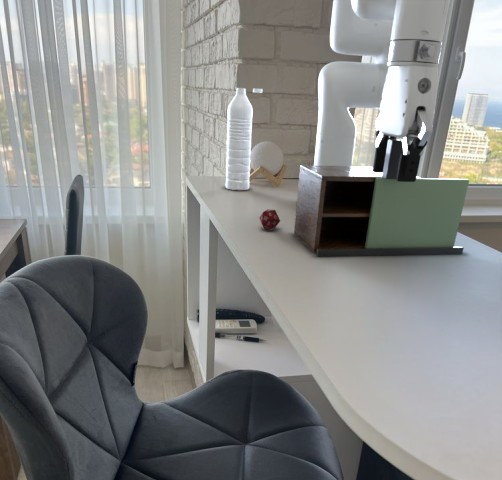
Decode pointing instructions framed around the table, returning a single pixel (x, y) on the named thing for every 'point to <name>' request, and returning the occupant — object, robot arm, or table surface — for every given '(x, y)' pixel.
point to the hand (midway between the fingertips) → (393, 176)
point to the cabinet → (342, 212)
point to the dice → (269, 219)
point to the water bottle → (239, 141)
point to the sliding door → (413, 208)
